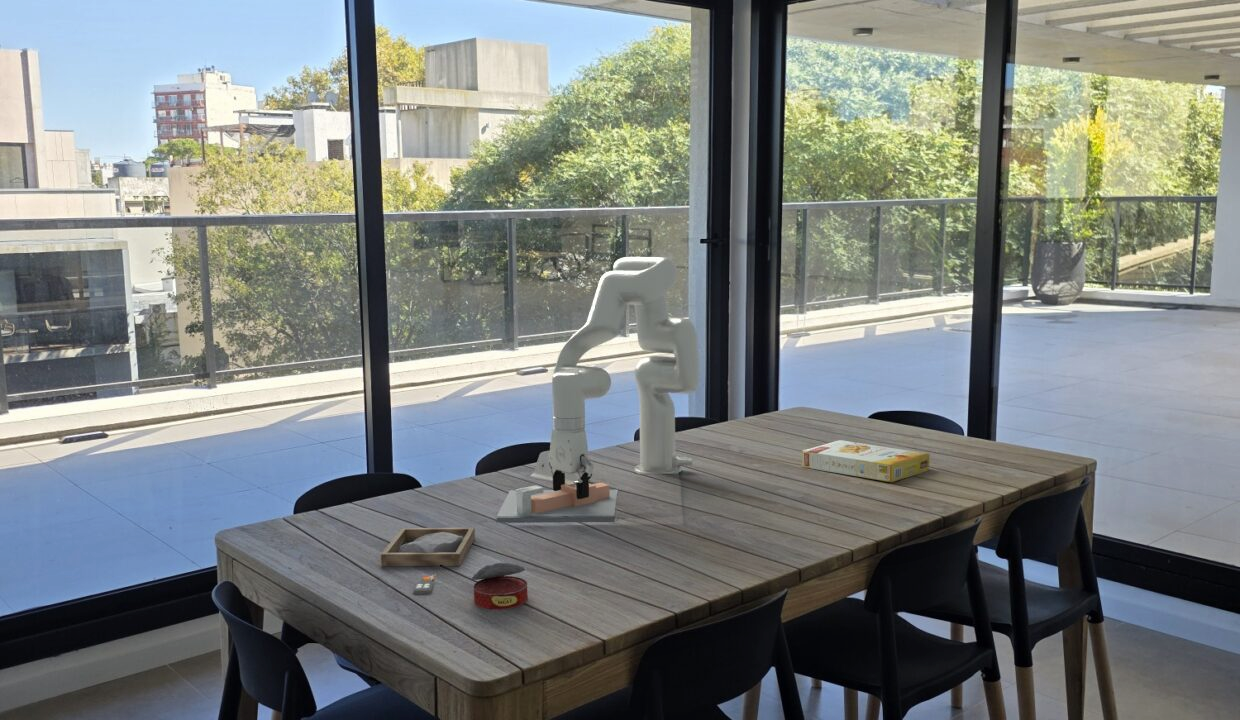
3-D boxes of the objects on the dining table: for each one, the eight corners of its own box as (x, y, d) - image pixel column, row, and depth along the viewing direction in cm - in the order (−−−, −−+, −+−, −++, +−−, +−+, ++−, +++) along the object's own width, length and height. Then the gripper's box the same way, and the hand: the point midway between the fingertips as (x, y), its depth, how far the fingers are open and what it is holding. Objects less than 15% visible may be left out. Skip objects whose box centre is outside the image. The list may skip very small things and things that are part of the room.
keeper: (537, 515, 252) (536, 485, 251) (544, 517, 250) (543, 487, 249) (516, 519, 249) (515, 489, 248) (523, 522, 247) (522, 491, 246)
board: (617, 495, 268) (617, 489, 268) (614, 521, 246) (614, 515, 245) (510, 496, 269) (510, 490, 269) (496, 522, 247) (496, 516, 246)
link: (597, 493, 265) (597, 477, 264) (612, 498, 260) (612, 482, 260) (524, 509, 252) (524, 492, 251) (538, 514, 247) (538, 497, 247)
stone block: (396, 568, 222) (433, 565, 217) (392, 545, 222) (429, 542, 217) (432, 554, 233) (469, 551, 228) (428, 532, 233) (465, 528, 228)
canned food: (477, 631, 195) (450, 583, 195) (502, 606, 204) (476, 561, 204) (524, 611, 191) (496, 562, 190) (548, 586, 200) (521, 540, 199)
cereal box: (892, 463, 274) (800, 448, 293) (891, 485, 275) (799, 468, 294) (930, 451, 289) (840, 437, 308) (930, 471, 289) (839, 456, 309)
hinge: (527, 482, 283) (535, 445, 284) (539, 484, 287) (547, 447, 288) (574, 492, 272) (582, 453, 273) (586, 494, 276) (594, 456, 277)
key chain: (432, 596, 202) (432, 588, 201) (412, 596, 201) (412, 589, 201) (441, 573, 214) (440, 566, 214) (422, 573, 214) (421, 566, 214)
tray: (474, 538, 235) (474, 527, 235) (460, 565, 217) (459, 553, 217) (402, 539, 235) (401, 528, 235) (381, 566, 218) (380, 554, 217)
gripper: (535, 420, 258) (537, 489, 260) (577, 431, 245) (579, 504, 247) (561, 416, 263) (562, 484, 265) (603, 426, 249) (605, 498, 252)
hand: (570, 493), depth 256 cm, fingers open, 9 cm apart
